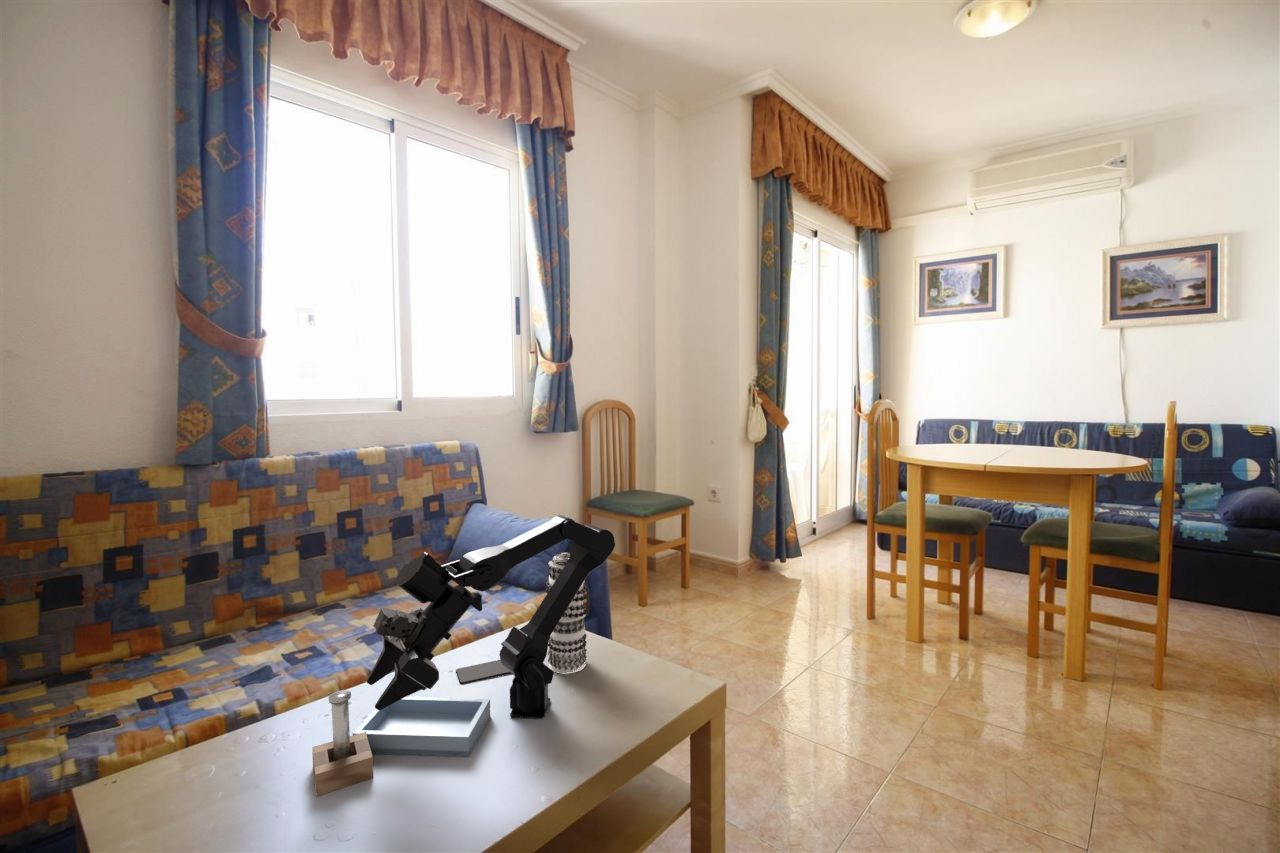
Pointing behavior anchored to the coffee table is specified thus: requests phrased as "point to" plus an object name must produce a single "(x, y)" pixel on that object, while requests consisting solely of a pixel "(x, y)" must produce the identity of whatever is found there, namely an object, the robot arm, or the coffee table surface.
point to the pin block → (342, 765)
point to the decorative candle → (567, 626)
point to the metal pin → (340, 723)
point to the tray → (427, 726)
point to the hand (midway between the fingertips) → (372, 695)
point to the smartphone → (481, 672)
